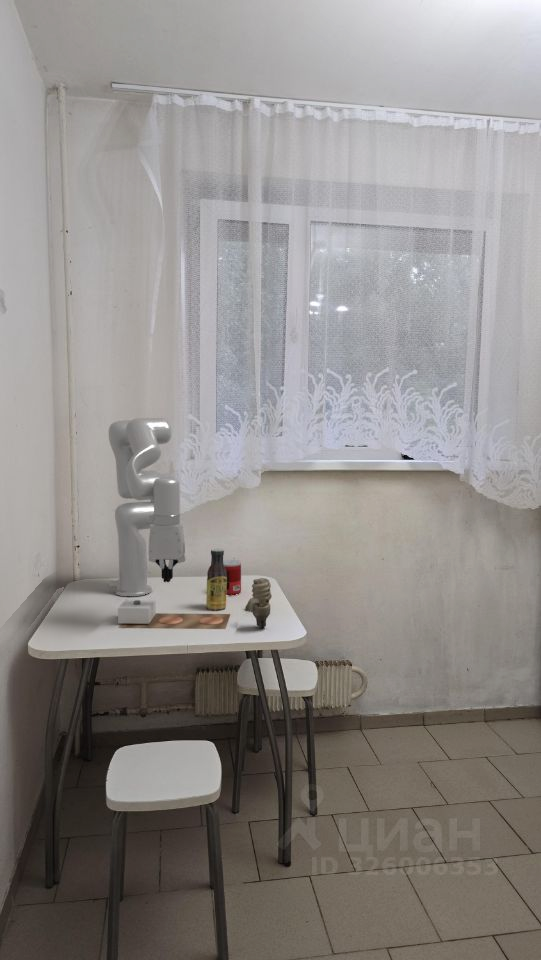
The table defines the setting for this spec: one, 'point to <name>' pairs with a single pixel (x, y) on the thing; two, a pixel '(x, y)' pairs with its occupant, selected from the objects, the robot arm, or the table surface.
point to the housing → (136, 611)
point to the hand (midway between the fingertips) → (167, 580)
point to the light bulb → (261, 601)
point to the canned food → (233, 576)
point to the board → (183, 621)
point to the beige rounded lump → (254, 600)
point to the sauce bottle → (216, 582)
